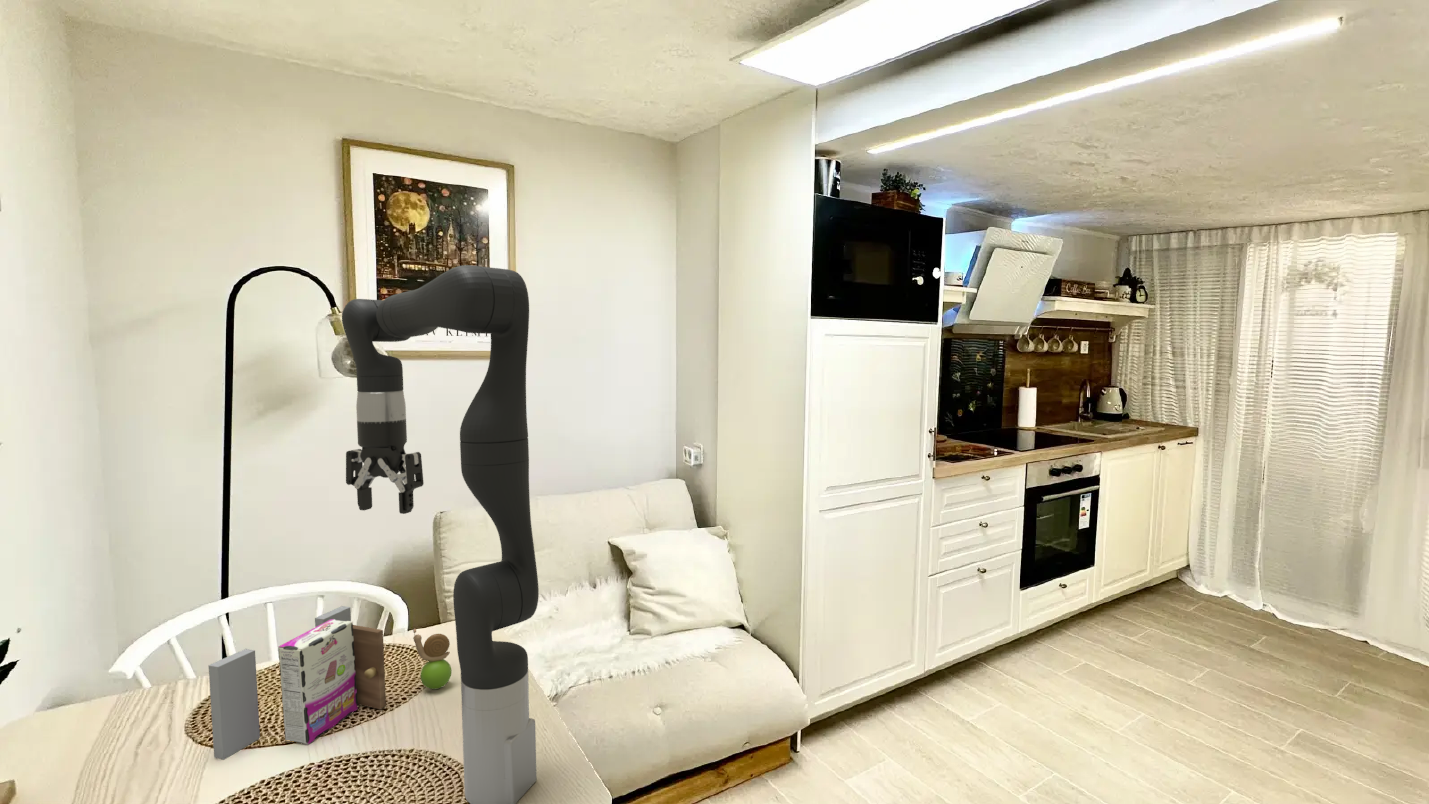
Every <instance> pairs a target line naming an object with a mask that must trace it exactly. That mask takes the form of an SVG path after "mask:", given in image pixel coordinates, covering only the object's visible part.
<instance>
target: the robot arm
mask: <svg viewBox="0 0 1429 804" xmlns="http://www.w3.org/2000/svg"><path fill="white" fill-rule="evenodd" d="M529 299H530V298H529V291H528V288H527V284H526V282H525V280H524V278H523V277H522V275H521V274H519V273H518V272H517V271H515V270H511V269H507V268H506V269H505V268H499V267H489V266H482V265H481V266H480V265H471V264H469V265H468V264H467V265H466V264H464V265H458V266H456V267H452V268H450V269H447V271H445V272H443V273H441V274H439V275H438V276H437V277H435V278H433V279H432V280H431V281H429V282H427V283H425V284H423V285H422V286H420V287H419V288H416V289H412V290H408V291H404V292H399V293H395V294H392V295H390V296H388V297H386V298H385V299H384V298H383V300H382V299H370V298H369V299H367V298H356V299H351V300H350V301H348V302H347V304H345V306H344V307H343V310H342V312H341V323H342V327H343V328H342V329H343V331H344V333H345V337H346V339H347V342H348V344H349V347H350V350H351V353H352V356H353V361H354V364H355V369H356V387H357V388H356V389H357V391H356V392H357V394H356V395H357V396H356V406H355V407H356V428H357V429H356V430H357V432H356V433H357V444H358V446H359V447H361V448H357V449H350V450H348V451H347V450H346V453H345V483H346V485H348V486H350V485H352V486H353V487H354V488H355V489H356V496H357V497H356V498H357V505H358V509H359V510H360V511H368V510H371V509H372V507H373V494H372V492H373V491H372V490H373V489H372V487H373V486H372V487H371V485H372V483H373V481H374V480H375V479H376V478H377V477H381V478H383V479H384V478H386V479H387V478H388V480H389V481H390V482H391V483H394V485H395V486H396V488H397V489H398V491H399V492H398V508H399V511H398V512H399V514H403V515H404V514H405V515H406V514H410V513H411V512H412V511H413V509H414V506H415V505H414V504H415V503H414V490H415V489H417V488H422V487H423V486H424V483H425V482H424V473H423V462H422V454H421V452H420V451H415V452H411V453H407V452H406V450H405V445H406V443H407V442H408V437H407V436H408V435H407V434H408V433H407V409H406V408H407V407H406V399H405V395H404V392H405V391H404V376H403V375H404V371H403V369H404V368H403V363H402V361H401V359H399V358H398V357H395V356H393V355H392V356H391V355H386V354H382V353H379V352H378V350H377V349H376V347H375V345H374V342H378V343H379V342H381V343H382V342H383V343H385V342H386V343H387V342H388V343H394V342H395V343H397V342H404V341H407V340H409V339H410V338H413V337H414V338H415V337H420V336H424V335H427V334H430V333H433V332H434V331H436V329H438V328H440V329H441V328H442V329H448V330H452V331H457V332H463V333H467V334H488V335H489V334H490V354H489V362H488V368H487V371H486V373H485V376H484V379H483V381H482V383H481V385H480V386H479V388H478V390H477V392H476V394H475V395H474V397H473V398H472V400H471V402H470V405H469V406H468V408H467V410H466V411H465V413H464V414H465V415H464V416H463V418H462V422H461V425H460V428H459V447H460V449H459V450H460V469H461V475H462V478H463V481H464V482H465V484H466V486H467V488H468V490H470V493H472V495H473V496H474V498H475V499H476V500H477V501H478V503H479V505H481V507H482V508H483V509H484V511H485V512H486V514H487V515H488V516H489V517H490V519H491V521H492V522H493V524H494V526H495V528H496V530H497V533H498V537H499V541H500V549H501V560H500V561H497V562H493V563H488V564H483V565H481V566H477V567H472V568H469V569H466V570H463V571H461V572H459V574H458V575H457V576H456V579H455V581H454V586H453V592H452V593H453V597H452V599H453V600H452V601H453V611H454V613H453V615H454V621H455V633H456V648H457V649H456V650H457V657H458V662H459V669H460V687H461V688H460V689H461V691H460V692H461V693H460V694H461V721H462V723H461V725H462V726H461V727H462V728H461V729H462V755H463V756H462V758H463V760H462V761H463V781H464V782H463V783H464V785H463V786H464V788H463V789H464V797H465V799H466V801H467V802H468V803H469V804H517V803H518V802H519V800H520V799H521V798H522V797H523V796H524V795H525V794H526V792H528V790H529V789H530V788H531V787H532V786H533V785H534V783H536V781H538V780H537V742H536V741H537V739H536V738H537V737H536V734H537V733H536V720H535V719H534V718H530V707H529V706H530V705H529V704H530V702H529V701H530V697H529V695H530V694H529V692H530V691H529V658H528V652H527V650H526V649H525V648H524V647H523V646H522V645H519V644H518V643H515V642H512V641H511V642H510V641H499V640H493V632H494V631H498V630H501V629H504V628H507V627H511V626H514V625H518V624H520V623H522V622H526V621H528V620H529V619H531V618H532V617H533V616H534V615H535V613H536V611H537V609H538V603H539V589H540V588H539V581H538V580H539V579H538V578H539V577H538V576H539V575H538V568H537V567H538V566H537V562H536V561H537V560H536V553H535V544H534V537H533V529H532V518H531V516H532V515H531V504H530V502H531V501H530V499H531V497H530V456H529V455H530V451H529V450H530V448H529V431H528V417H527V416H528V414H527V411H528V410H527V360H528V359H527V357H528V341H529V328H530V301H529Z"/></svg>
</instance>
